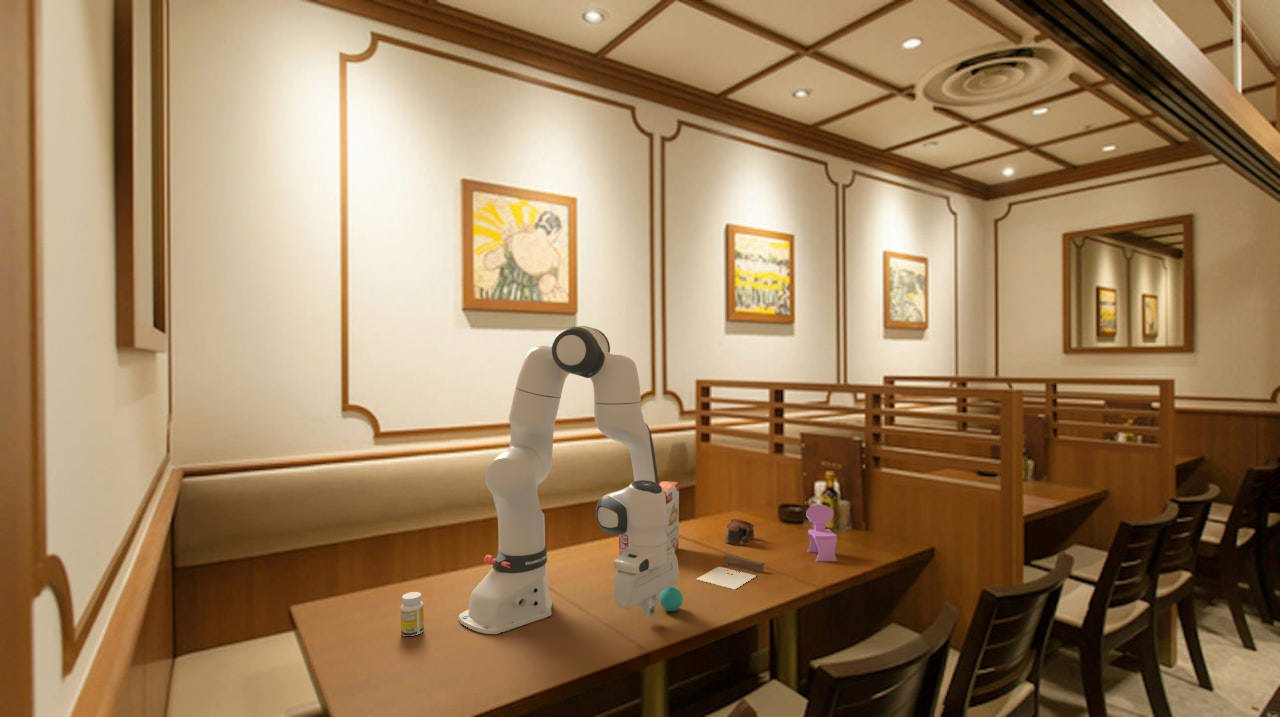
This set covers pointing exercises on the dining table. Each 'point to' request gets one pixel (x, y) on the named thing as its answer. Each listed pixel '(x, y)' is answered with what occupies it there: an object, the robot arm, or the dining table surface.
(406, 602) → the supplement bottle
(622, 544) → the soda can
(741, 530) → the pottery mug
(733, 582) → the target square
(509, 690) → the dining table surface
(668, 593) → the ball
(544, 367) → the robot arm
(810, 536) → the toy chair
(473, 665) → the dining table surface
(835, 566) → the dining table surface
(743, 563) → the strip
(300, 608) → the dining table surface
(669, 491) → the cracker box
